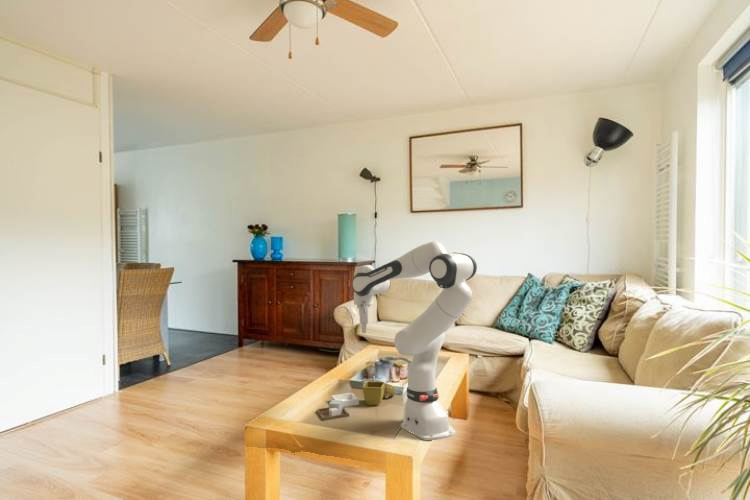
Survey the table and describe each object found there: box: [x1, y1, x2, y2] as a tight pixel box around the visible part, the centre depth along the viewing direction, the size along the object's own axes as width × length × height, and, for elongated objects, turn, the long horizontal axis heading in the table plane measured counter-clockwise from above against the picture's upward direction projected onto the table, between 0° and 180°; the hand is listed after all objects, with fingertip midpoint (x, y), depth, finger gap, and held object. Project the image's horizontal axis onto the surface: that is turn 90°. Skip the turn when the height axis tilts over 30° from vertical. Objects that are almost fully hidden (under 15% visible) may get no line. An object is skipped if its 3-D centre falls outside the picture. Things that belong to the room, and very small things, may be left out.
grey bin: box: [331, 392, 360, 408], centre depth 184 cm, size 10×10×3 cm
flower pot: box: [362, 380, 386, 406], centre depth 183 cm, size 9×9×9 cm
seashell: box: [382, 383, 396, 400], centre depth 192 cm, size 10×7×8 cm
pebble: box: [328, 399, 342, 414], centre depth 172 cm, size 4×4×4 cm
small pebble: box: [329, 408, 339, 417], centre depth 167 cm, size 3×3×3 cm
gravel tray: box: [316, 406, 350, 422], centre depth 170 cm, size 11×11×2 cm
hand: (363, 330), depth 182 cm, fingers open, 8 cm apart
